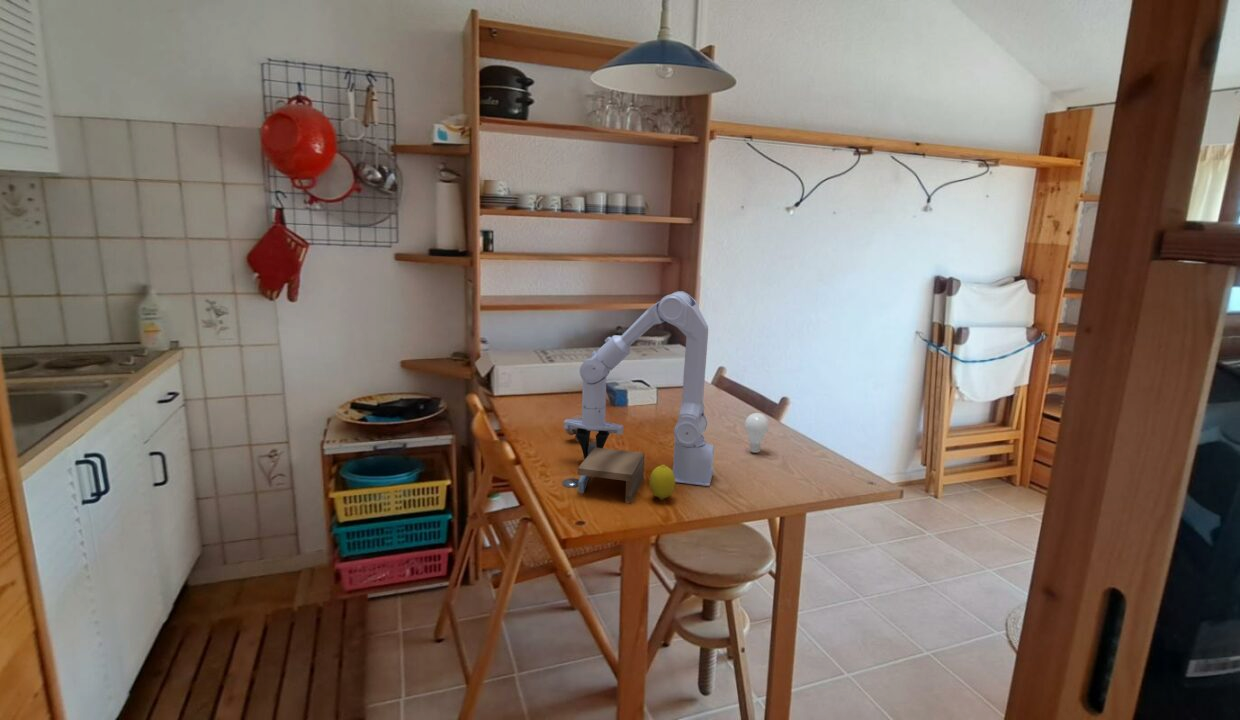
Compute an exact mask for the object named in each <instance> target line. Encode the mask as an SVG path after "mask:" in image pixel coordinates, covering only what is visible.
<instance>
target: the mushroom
mask: <svg viewBox="0 0 1240 720" xmlns="http://www.w3.org/2000/svg"><path fill="white" fill-rule="evenodd" d="M569 420H582V413H579V414H577V415H576V414H575V415H573V416H571V417H570V418H569ZM564 430H565V432H566V434H567V435H570V436H574V435H575V436H574V439H575V442H578V441H579V440H578V439H577V437H576V433H577V429H564ZM591 432H592V431H590V433H591Z"/></svg>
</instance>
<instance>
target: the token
mask: <svg viewBox="0 0 1240 720" xmlns="http://www.w3.org/2000/svg"><path fill="white" fill-rule="evenodd" d="M579 479H580V478H573V477H572V478H565V479H563V480H562V486H563V487H566V488H569V489H572V488H573V489H575V488H578V482H579Z"/></svg>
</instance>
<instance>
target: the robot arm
mask: <svg viewBox="0 0 1240 720" xmlns="http://www.w3.org/2000/svg"><path fill="white" fill-rule="evenodd" d="M664 322H666V323H667V324H670V325H672V326H674V327H676V328H677V329H678V330H679V331H680V332H681V333H682V334H684V336H685V337H686V339H685V340H686V341H685V351H684V352H685V353H684V367H683V380H682V381H683V383H682V395H681V396H682V397H681V405H680V406H681V407H680V410H679V413H678V421H677V422H676V425H675V426H674V428H673V436H674V444H673V445H674V447H673V449H674V450H673V463H672V464H673V466H672V471H673V473H674V476H675V483H678V484H679V483H680V484H687V485H695V486H704V487H710V485H711V481H712V476H713V475H714V457H715V456H714V453H715V445H714V444H711V443H707V442H706V438H705V436H704V434H703V433H704V432H705V431H706V429H707V427H708V420H707V416H705V405H704V393H705V392H704V391H705V380H706V379H705V378H706V366H707V353H708V339H709V325H708V324H707V321H706V320H705V318H704V316H703V314H702V312H701V310H700V308H699V306H698V302H697V300H695V299H694V298H693V297H692V296H691V295H690V294H688V293H687V292H685V291H681V290H678V291H675V292H673V293H671V294H667V295H665V296H663V297H662V298H661V299H660V301H658V302H656V303H655V304H653V305H652V306H650V307H649V308H647V309H646V310H645V311H644V312H643V313H642V314H641V315H640V317H638V318H637V319H636V320H635V321H634V322H633V324H631V326H629V327H628V329H626V331H624V332H623V333H622V335H617V334H616V335H615V334H614V335H612V336H608V337H606V338H605V339H604V342H605V343H604V344H603V345H602V346H601V347H600V348H599V349H598V350H597V351H596V350H594V351H593V352H592V353H591V355H592V356H591V358H587V359H585V360H584V361H583V362H582V364H581V365H580V368H579V375H580V377H581V379H582V391H581V392H582V394H581V395H582V397H581V399H582V400H581V402H582V403H581V414H582V420H569V419H570V418H569V419H567V418H566V419H565V420H564V421H563V429H564V430H565V429H577V433H576V434H575V435H576V437H577V439H578V440H579V442H578V443H579V445H580V447H581V450H582V454H583V459H584V460H585V459H586V458H587V456H588V446H589V443H590V438H591V432H597V433H596V434H595V442H596V447H597V448H605V447H604V446H605V444H606V442H607V440H608V438H609V435H610V434H616V435H617V436H618V435H619V436H622V435H623V432H624V425H623V424H618V423H614V422H613V423H612V422H610V421H606V410H607V409H606V408H607V407H606V405H607V401H606V400H607V377H608V376H609V374H610V373H611V371H612V370H613V369H615V368H616V367H617V366H618V365H619V364H620V363H621V362H622V361H623V360H625V359H626V357H628V356H629V355H630V354H631V346H632V345H633V344H634V343H635V341H637V340H638V339H639V338H640V337H641V336H643V335H644V334H645V333H646V332H647V331H649V330H650V329H651V328H652V327H653V326H654V325H660V324H662V323H664ZM590 431H591V432H590Z"/></svg>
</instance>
